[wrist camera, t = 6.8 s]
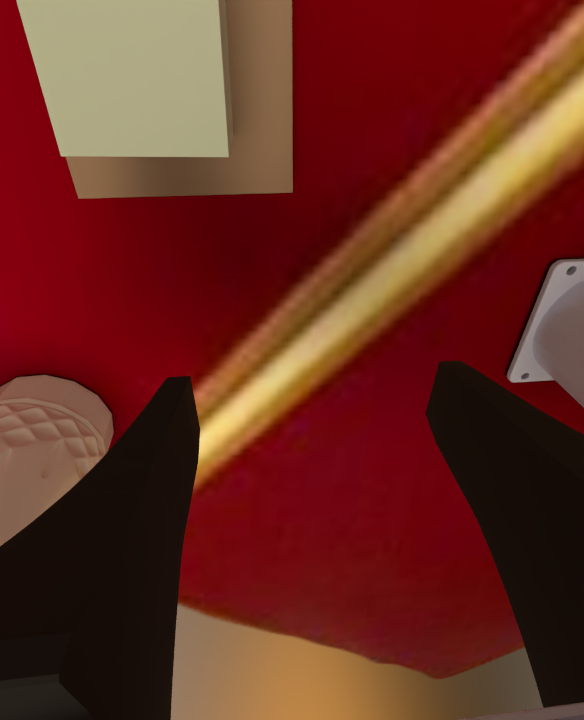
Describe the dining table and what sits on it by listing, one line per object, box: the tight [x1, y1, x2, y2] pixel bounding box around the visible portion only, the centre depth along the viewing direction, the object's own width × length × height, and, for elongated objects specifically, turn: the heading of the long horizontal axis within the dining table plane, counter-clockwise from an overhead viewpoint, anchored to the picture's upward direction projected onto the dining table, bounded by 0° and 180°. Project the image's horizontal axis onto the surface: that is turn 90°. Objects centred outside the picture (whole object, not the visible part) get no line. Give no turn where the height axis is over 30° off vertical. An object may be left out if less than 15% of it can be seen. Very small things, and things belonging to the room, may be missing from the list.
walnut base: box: [66, 0, 293, 199], centre depth 14 cm, size 8×8×3 cm
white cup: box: [0, 375, 114, 546], centre depth 19 cm, size 8×8×10 cm
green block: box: [16, 0, 233, 157], centre depth 10 cm, size 4×4×5 cm
